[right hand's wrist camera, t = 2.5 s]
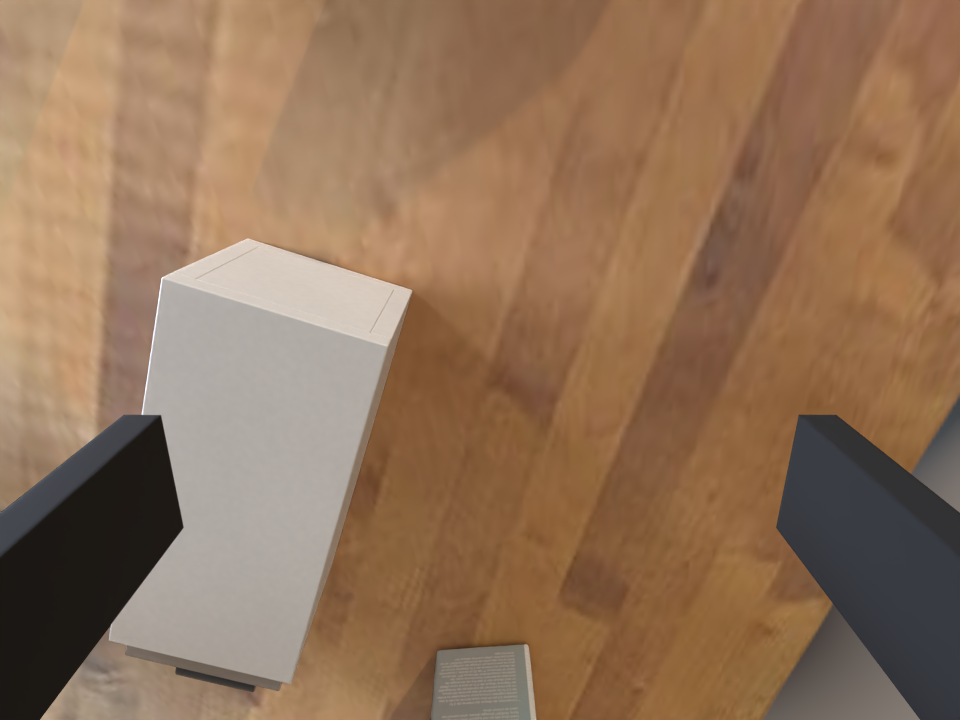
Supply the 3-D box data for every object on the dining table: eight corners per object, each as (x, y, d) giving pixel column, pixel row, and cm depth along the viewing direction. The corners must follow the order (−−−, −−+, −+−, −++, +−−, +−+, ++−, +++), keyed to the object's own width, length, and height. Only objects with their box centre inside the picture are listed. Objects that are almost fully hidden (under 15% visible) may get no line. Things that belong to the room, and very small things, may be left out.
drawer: (298, 648, 47) (260, 756, 39) (178, 619, 46) (113, 723, 38) (387, 340, 38) (362, 396, 30) (241, 296, 37) (174, 341, 29)
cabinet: (332, 562, 45) (290, 684, 35) (192, 526, 44) (107, 641, 34) (412, 290, 38) (388, 346, 28) (247, 238, 37) (161, 277, 27)
